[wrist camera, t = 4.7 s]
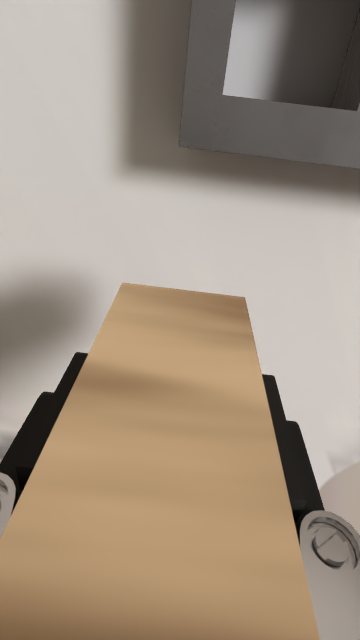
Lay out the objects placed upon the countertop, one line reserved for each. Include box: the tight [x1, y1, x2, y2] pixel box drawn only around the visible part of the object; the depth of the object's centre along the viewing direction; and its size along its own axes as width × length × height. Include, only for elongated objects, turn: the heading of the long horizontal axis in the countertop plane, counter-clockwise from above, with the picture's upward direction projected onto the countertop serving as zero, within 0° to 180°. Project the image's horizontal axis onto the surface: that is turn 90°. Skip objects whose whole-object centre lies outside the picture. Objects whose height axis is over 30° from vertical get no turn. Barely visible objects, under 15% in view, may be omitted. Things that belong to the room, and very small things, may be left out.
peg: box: [0, 283, 320, 640], centre depth 9 cm, size 4×4×10 cm
